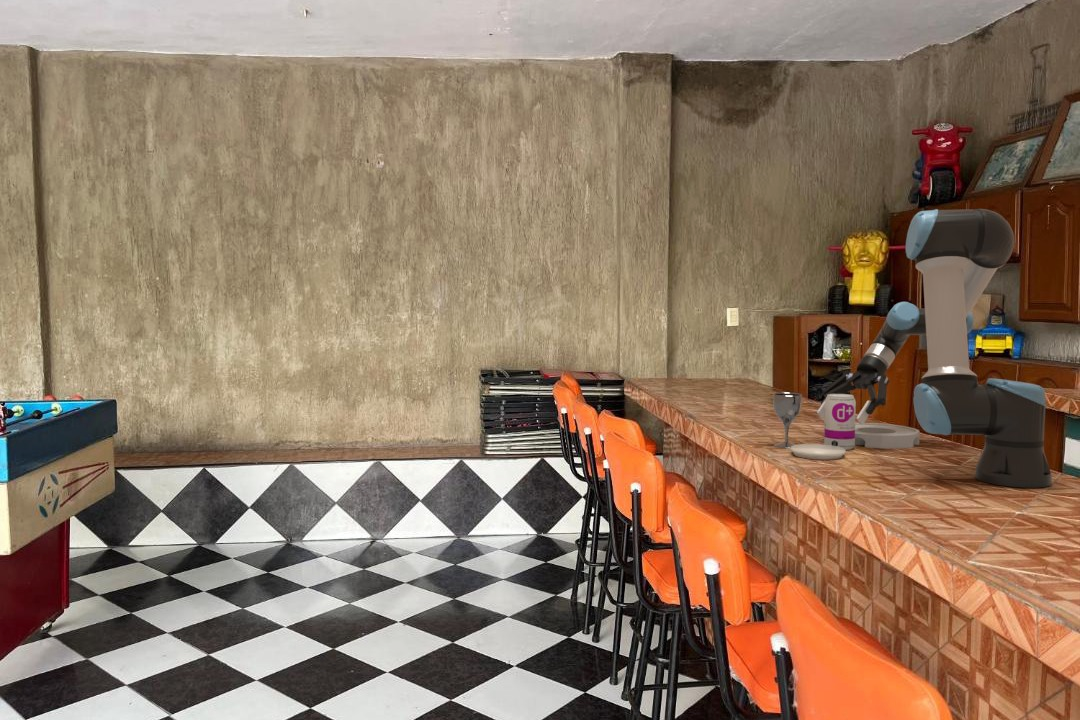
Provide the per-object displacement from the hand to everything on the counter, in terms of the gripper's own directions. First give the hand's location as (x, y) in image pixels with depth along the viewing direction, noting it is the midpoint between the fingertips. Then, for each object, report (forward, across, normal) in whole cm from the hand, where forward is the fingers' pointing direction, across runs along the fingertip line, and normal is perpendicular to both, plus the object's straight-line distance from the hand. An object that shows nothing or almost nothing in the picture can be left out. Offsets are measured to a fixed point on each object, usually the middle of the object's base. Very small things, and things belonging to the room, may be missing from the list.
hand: (839, 418), depth 225 cm
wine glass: (+14, +9, +2) cm, 17 cm away
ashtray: (-6, +1, -18) cm, 19 cm away
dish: (+16, -5, +4) cm, 17 cm away
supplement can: (+6, -1, -6) cm, 9 cm away
